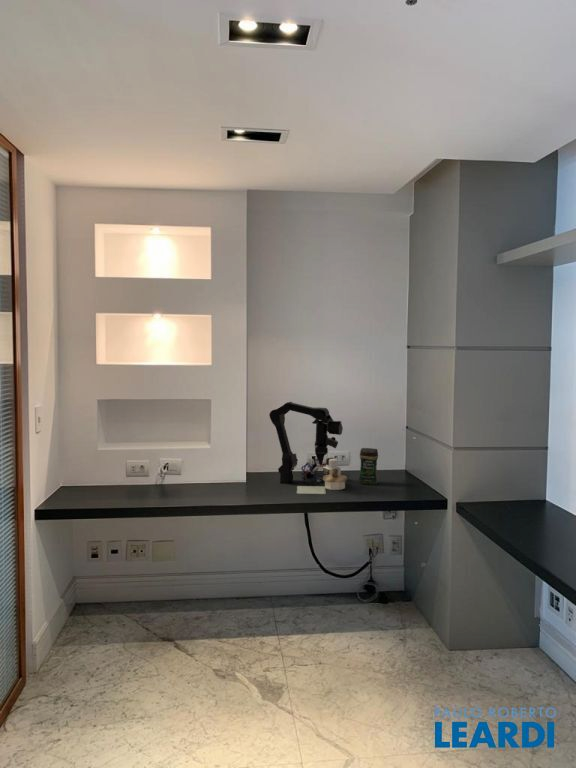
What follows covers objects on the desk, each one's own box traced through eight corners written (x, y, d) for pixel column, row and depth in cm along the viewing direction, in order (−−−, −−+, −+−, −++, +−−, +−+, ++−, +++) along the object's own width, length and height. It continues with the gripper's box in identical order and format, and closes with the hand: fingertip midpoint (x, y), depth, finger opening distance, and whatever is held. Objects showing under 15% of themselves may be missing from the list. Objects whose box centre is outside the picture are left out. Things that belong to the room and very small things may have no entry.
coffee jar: (358, 484, 300) (358, 449, 299) (360, 480, 308) (360, 446, 307) (376, 485, 298) (377, 450, 296) (378, 482, 305) (379, 447, 304)
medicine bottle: (322, 479, 310) (322, 457, 309) (334, 478, 313) (334, 456, 312) (329, 482, 304) (329, 460, 303) (340, 481, 307) (341, 459, 306)
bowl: (325, 490, 288) (325, 481, 287) (324, 485, 298) (324, 477, 297) (345, 490, 287) (345, 482, 287) (344, 485, 297) (344, 477, 297)
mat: (296, 494, 280) (296, 493, 280) (297, 487, 294) (297, 486, 294) (325, 494, 280) (325, 493, 280) (324, 487, 294) (324, 486, 294)
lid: (323, 482, 286) (323, 471, 286) (322, 476, 298) (322, 466, 298) (347, 482, 286) (347, 472, 286) (346, 476, 298) (346, 466, 298)
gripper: (338, 436, 283) (337, 468, 284) (336, 430, 302) (335, 459, 303) (315, 435, 283) (314, 467, 285) (315, 429, 302) (314, 459, 303)
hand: (320, 463), depth 294 cm, fingers open, 9 cm apart
